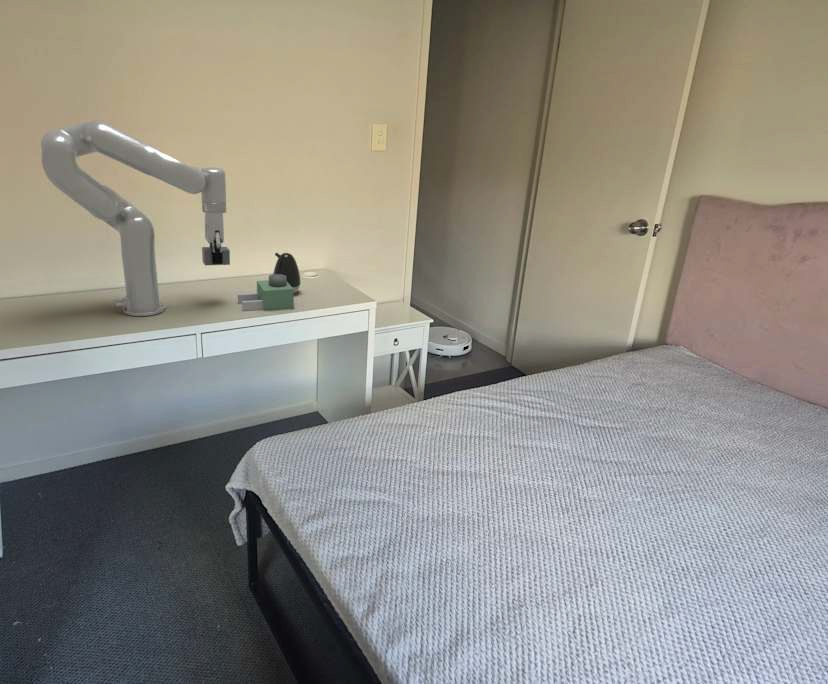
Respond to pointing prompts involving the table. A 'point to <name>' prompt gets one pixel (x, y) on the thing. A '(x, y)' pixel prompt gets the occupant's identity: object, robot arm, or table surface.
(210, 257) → the dark gray block
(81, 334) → the table surface
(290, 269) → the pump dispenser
